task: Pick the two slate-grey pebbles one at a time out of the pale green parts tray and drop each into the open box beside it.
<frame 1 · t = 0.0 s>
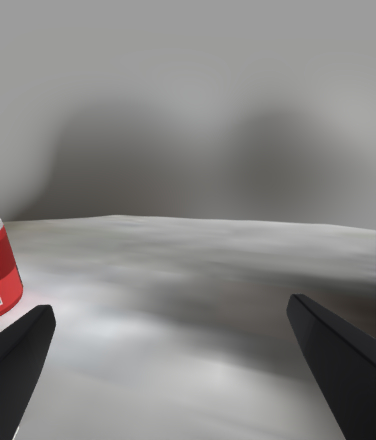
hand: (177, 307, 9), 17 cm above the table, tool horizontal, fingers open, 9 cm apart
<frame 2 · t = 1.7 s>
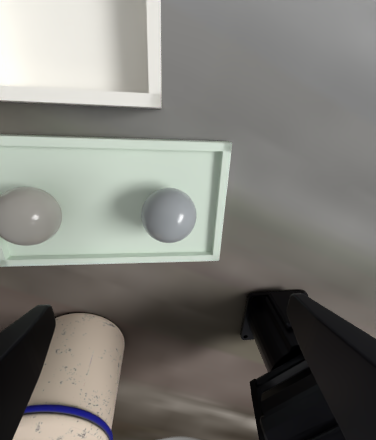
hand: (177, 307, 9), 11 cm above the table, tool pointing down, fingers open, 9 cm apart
tray: (112, 203, 19), on the table
pebble a: (168, 205, 18), point 1 cm above the table, touching tray
teacup with lid: (89, 348, 25), on the table
pebble b: (42, 205, 17), point 1 cm above the table, touching tray
open box: (75, 10, 14), on the table
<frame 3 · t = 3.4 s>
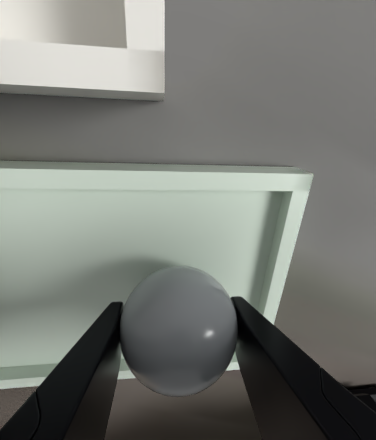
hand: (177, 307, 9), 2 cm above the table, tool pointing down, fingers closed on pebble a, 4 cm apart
tray: (69, 280, 10), on the table
pebble a: (175, 285, 10), point 1 cm above the table, touching gripper, tray
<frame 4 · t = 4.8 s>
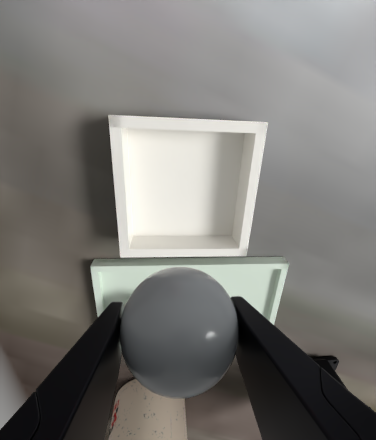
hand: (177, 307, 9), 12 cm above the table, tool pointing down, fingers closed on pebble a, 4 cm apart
tray: (190, 299, 24), on the table
pebble a: (176, 286, 10), point 11 cm above the table, touching gripper
teacup with lid: (153, 401, 30), on the table
open box: (184, 185, 19), on the table
when the fingers open (5 cm above the table, at t = 6.2 s): pebble a drops 3 cm, resting on open box.
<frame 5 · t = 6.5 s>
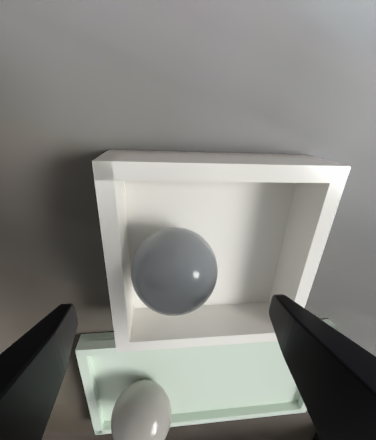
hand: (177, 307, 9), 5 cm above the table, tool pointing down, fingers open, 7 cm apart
tray: (207, 370, 18), on the table
pebble a: (172, 247, 13), point 1 cm above the table, touching open box
pebble b: (143, 384, 17), point 1 cm above the table, touching tray
open box: (206, 240, 13), on the table
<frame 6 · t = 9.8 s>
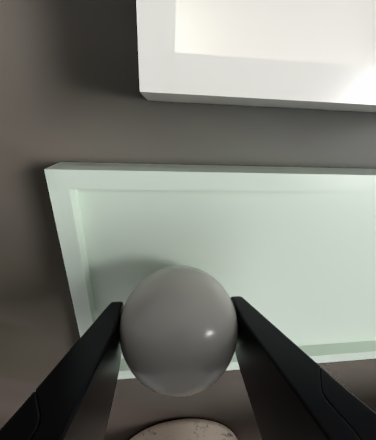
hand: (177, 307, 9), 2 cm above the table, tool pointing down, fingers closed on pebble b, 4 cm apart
tray: (280, 273, 11), on the table
pebble b: (175, 285, 10), point 1 cm above the table, touching gripper, tray
when the fingers open (5 cm above the table, at t = 12.7 s): pebble b drops 3 cm, resting on open box.
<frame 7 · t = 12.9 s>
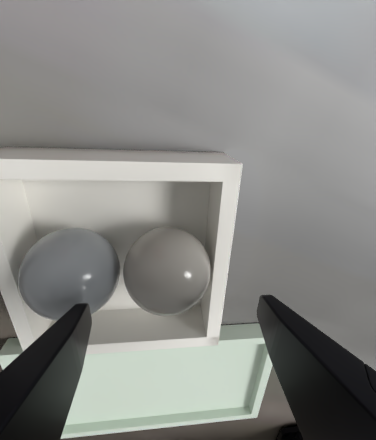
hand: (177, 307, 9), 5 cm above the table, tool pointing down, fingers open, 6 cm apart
tray: (151, 375, 18), on the table
pebble a: (86, 249, 12), point 1 cm above the table, touching open box
pebble b: (178, 248, 13), point 1 cm above the table, tilted 19°, touching open box
open box: (127, 241, 13), on the table
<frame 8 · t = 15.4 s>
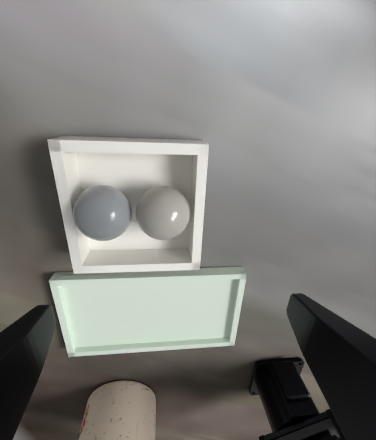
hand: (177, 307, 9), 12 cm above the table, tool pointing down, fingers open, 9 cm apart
tray: (154, 308, 24), on the table
pebble a: (112, 203, 18), point 1 cm above the table, tilted 8°, touching open box
teacup with lid: (126, 403, 31), on the table
pebble b: (173, 204, 19), point 1 cm above the table, tilted 25°, touching open box
open box: (139, 200, 19), on the table
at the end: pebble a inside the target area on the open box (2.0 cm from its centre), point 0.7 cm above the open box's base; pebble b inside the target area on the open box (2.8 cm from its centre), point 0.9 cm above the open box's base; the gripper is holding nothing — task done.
